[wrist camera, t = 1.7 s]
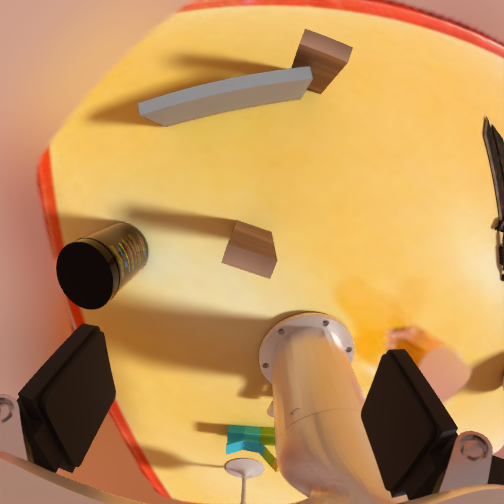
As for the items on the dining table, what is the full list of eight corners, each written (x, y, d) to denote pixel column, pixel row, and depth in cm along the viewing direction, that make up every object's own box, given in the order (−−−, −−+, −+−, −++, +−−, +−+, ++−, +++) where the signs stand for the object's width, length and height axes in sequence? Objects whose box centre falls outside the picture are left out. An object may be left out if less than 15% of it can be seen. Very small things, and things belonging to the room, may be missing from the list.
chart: (228, 435, 43) (220, 508, 29) (228, 423, 43) (220, 499, 28) (396, 431, 43) (422, 491, 29) (402, 419, 43) (431, 481, 28)
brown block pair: (266, 245, 34) (270, 278, 24) (233, 233, 34) (221, 262, 24) (325, 82, 29) (352, 47, 19) (291, 69, 29) (305, 28, 19)
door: (296, 81, 29) (307, 56, 21) (300, 99, 30) (312, 78, 22) (163, 109, 30) (136, 93, 22) (166, 126, 31) (139, 115, 23)
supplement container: (127, 209, 34) (81, 226, 24) (161, 253, 35) (127, 285, 25) (93, 243, 35) (46, 268, 25) (125, 284, 36) (86, 321, 26)
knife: (476, 117, 30) (482, 116, 28) (503, 116, 29) (508, 115, 28) (493, 284, 36) (498, 287, 34) (517, 272, 35) (522, 275, 34)
